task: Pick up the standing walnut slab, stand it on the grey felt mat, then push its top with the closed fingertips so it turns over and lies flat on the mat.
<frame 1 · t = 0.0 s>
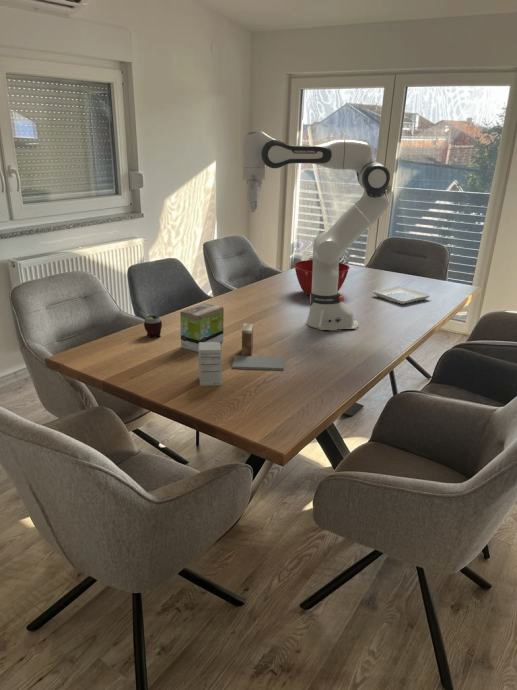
hand: (253, 210, 217), 48 cm above the table, tool pointing down, fingers open, 8 cm apart
tea box: (202, 345, 207), on the table
mate gourd: (154, 336, 216), on the table
mat: (258, 363, 190), on the table
supplement box: (210, 381, 176), on the table
salad plate: (400, 299, 272), on the table
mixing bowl: (320, 294, 277), on the table
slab: (247, 352, 200), on the table
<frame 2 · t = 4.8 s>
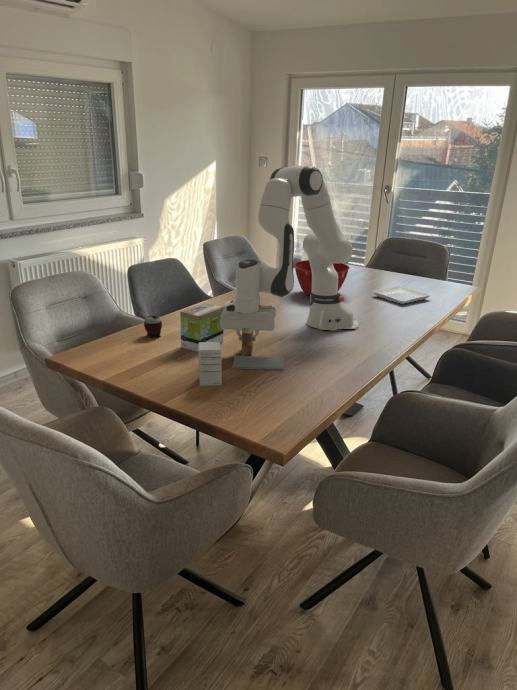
hand: (247, 340, 199), 5 cm above the table, tool pointing down, fingers closed on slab, 3 cm apart
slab: (247, 351, 200), on the table, touching gripper
everything else where it was.
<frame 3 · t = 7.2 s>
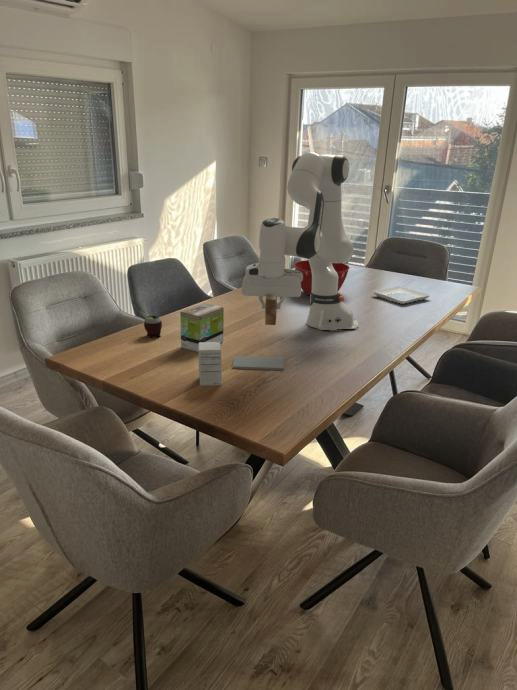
hand: (271, 308, 182), 21 cm above the table, tool pointing down, fingers closed on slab, 3 cm apart
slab: (270, 321, 184), point 16 cm above the table, touching gripper
everything else where it was.
when the fingers open (7 cm above the table, at t = 10.1 s): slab drops 1 cm, resting on mat.
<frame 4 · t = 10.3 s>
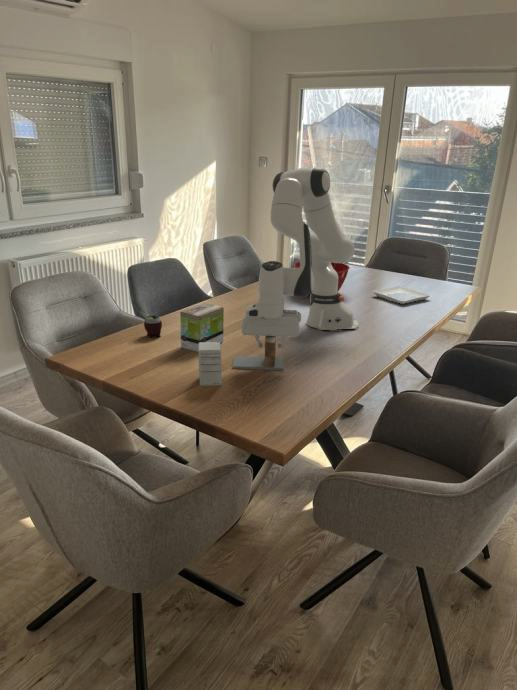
hand: (270, 347, 187), 7 cm above the table, tool pointing down, fingers open, 6 cm apart
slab: (270, 362, 189), point 1 cm above the table, touching mat
everything else where it was.
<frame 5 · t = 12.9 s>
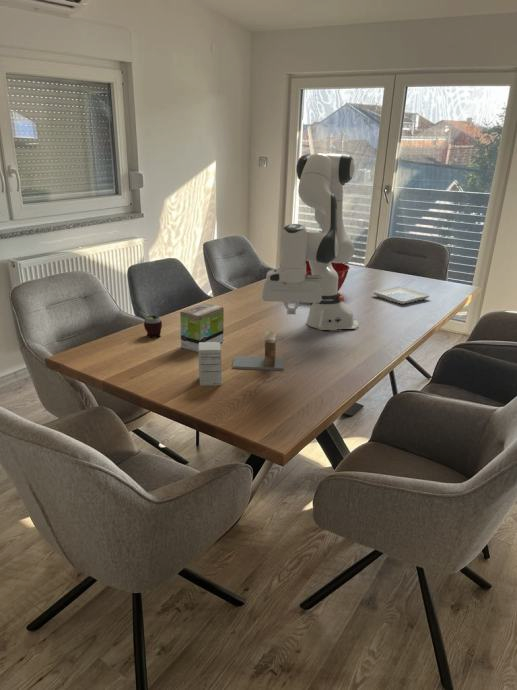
hand: (291, 313, 182), 19 cm above the table, tool pointing down, fingers closed
nothing on the table moved.
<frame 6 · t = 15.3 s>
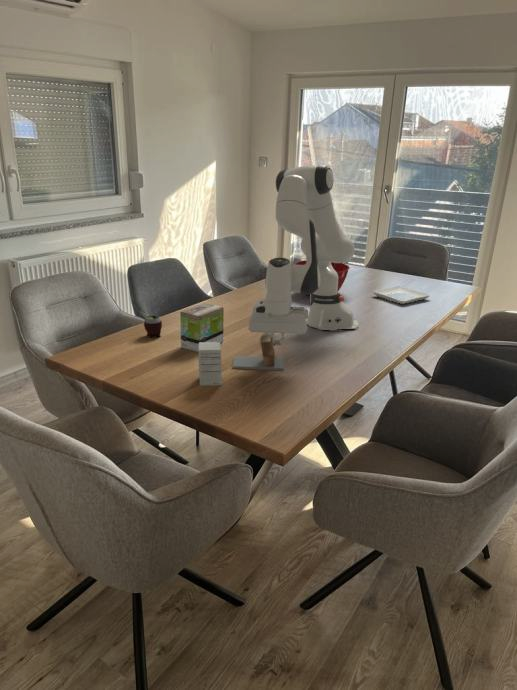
hand: (277, 344, 186), 8 cm above the table, tool pointing down, fingers closed
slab: (269, 361, 189), point 1 cm above the table, tilted 9°, touching gripper, mat
everything else where it was.
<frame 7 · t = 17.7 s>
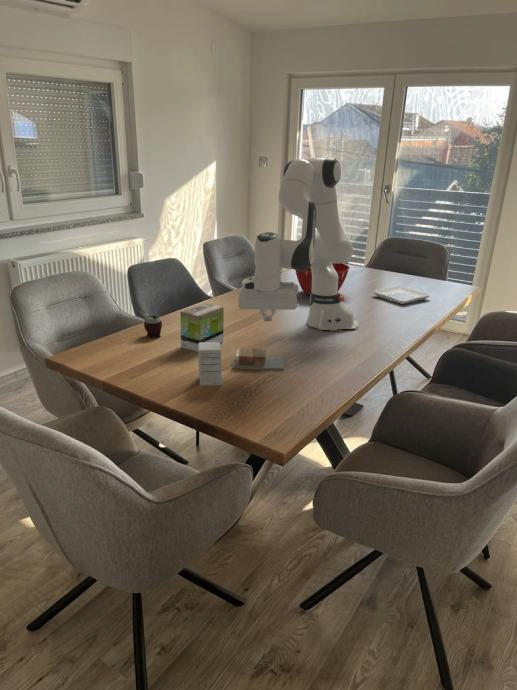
hand: (267, 320, 184), 16 cm above the table, tool pointing down, fingers closed
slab: (265, 357, 189), point 3 cm above the table, tilted 90°, touching mat
everything else where it was.
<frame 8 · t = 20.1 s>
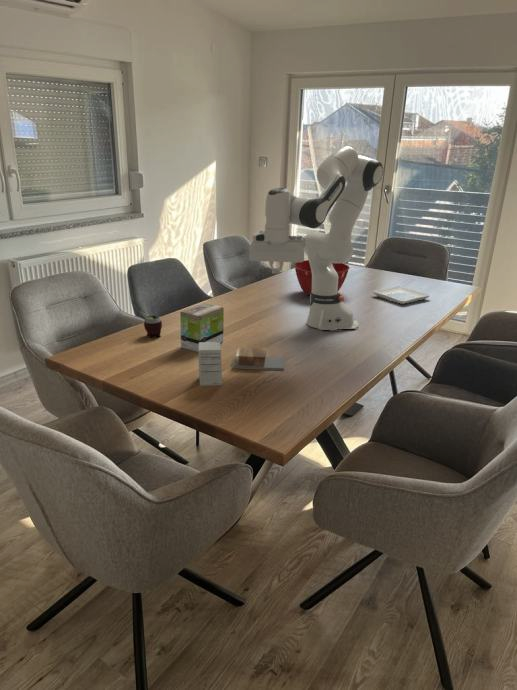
hand: (276, 273, 195), 29 cm above the table, tool pointing down, fingers closed
nothing on the table moved.
at the end: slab tilted 90°; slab inside the target area (3.2 cm from its centre), point 2.5 cm above the table; the gripper is holding nothing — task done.
